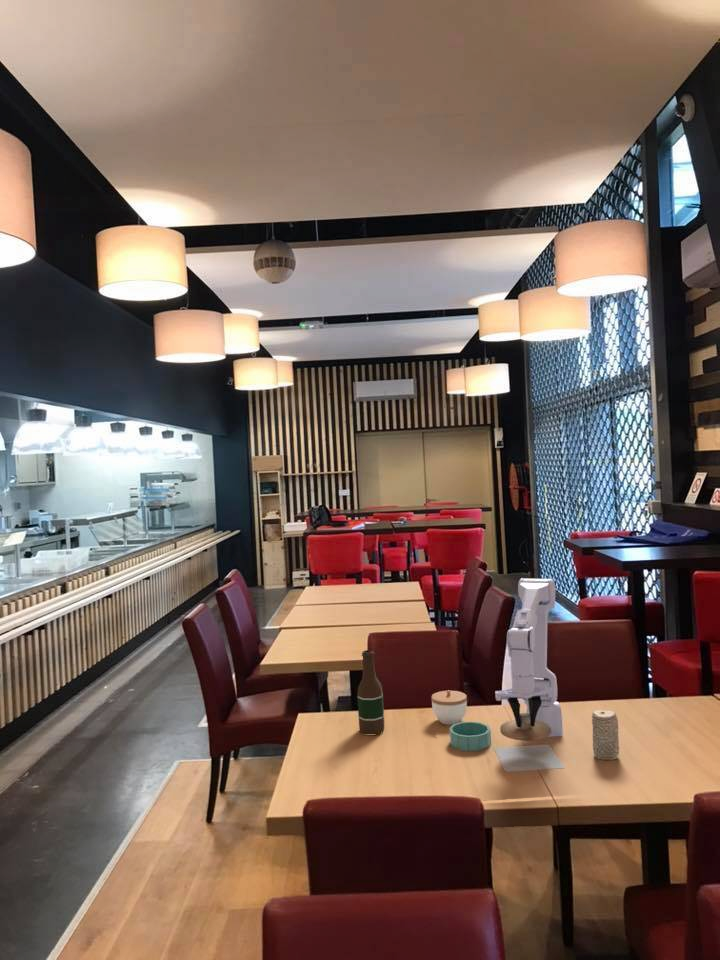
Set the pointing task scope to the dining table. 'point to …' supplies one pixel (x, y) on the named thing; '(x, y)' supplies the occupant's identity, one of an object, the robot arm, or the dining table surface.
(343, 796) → the dining table surface
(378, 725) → the beer bottle
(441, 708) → the lidded jar
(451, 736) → the bowl
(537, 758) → the mat
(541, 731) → the lid
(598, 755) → the carving
